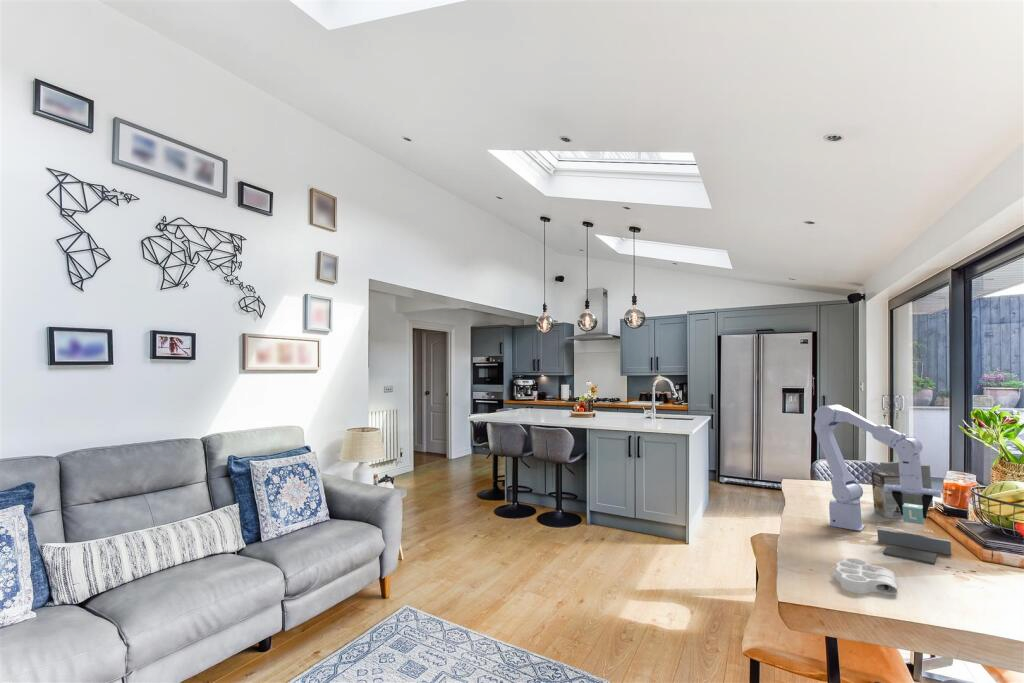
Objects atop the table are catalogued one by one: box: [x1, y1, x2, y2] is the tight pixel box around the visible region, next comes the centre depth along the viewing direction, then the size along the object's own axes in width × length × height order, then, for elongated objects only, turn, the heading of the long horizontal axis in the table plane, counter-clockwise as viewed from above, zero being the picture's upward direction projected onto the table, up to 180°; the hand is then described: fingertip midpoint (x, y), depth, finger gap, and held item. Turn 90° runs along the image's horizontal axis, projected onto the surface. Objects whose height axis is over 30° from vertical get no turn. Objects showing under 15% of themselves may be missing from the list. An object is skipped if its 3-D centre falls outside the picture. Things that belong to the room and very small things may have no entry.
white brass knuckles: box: [829, 557, 899, 596], centre depth 132 cm, size 3×18×15 cm
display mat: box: [882, 544, 938, 565], centre depth 149 cm, size 12×9×1 cm
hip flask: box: [879, 461, 934, 508], centre depth 197 cm, size 16×4×20 cm, turn 57°
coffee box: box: [871, 470, 904, 520], centre depth 188 cm, size 9×6×16 cm
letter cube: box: [902, 503, 926, 526], centre depth 159 cm, size 5×5×5 cm
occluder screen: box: [876, 527, 952, 556], centre depth 155 cm, size 18×2×4 cm, turn 45°
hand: (913, 516), depth 159 cm, fingers closed on letter cube, 5 cm apart
